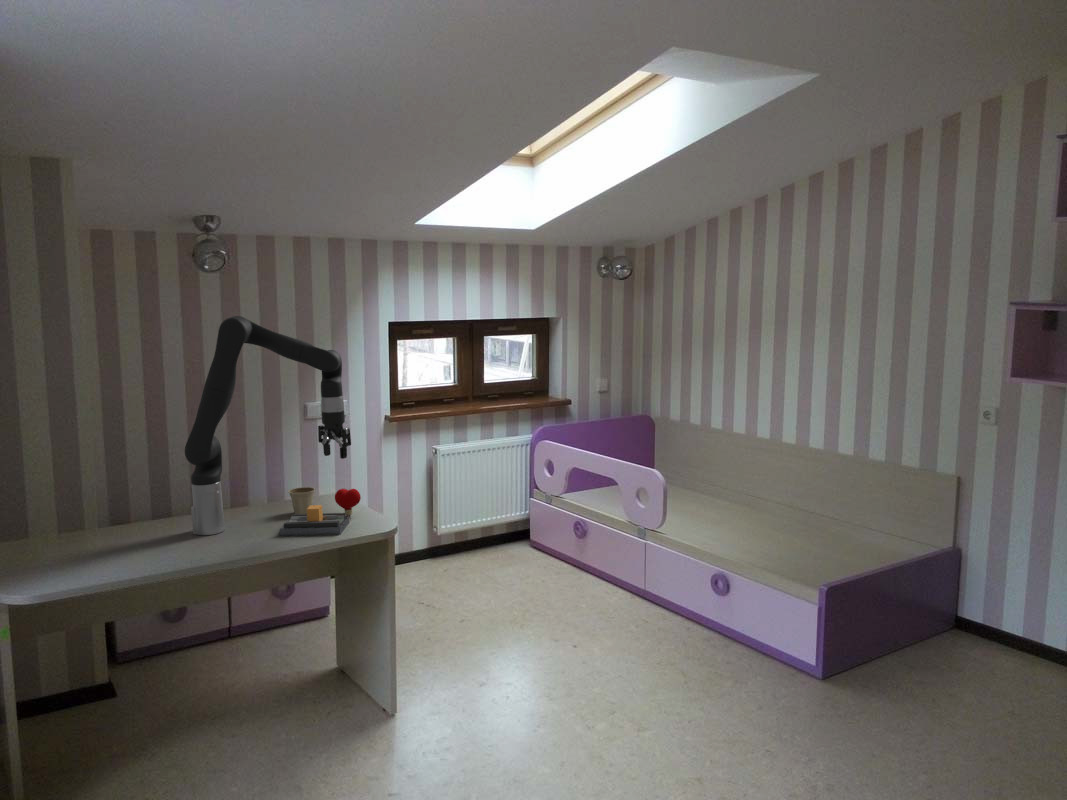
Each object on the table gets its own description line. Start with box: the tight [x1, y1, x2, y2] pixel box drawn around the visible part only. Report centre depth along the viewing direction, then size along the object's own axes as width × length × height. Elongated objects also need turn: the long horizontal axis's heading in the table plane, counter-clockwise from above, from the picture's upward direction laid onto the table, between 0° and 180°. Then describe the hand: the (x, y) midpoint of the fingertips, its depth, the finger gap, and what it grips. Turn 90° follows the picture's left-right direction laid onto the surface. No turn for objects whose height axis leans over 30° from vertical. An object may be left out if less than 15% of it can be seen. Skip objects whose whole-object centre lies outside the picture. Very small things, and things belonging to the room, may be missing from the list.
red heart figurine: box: [334, 488, 362, 517], centre depth 292 cm, size 9×7×10 cm
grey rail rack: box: [283, 512, 347, 528], centre depth 277 cm, size 18×12×1 cm, turn 90°
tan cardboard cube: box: [307, 504, 323, 521], centre depth 277 cm, size 4×5×5 cm
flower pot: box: [287, 486, 316, 514], centre depth 298 cm, size 9×9×9 cm
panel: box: [279, 515, 350, 537], centre depth 277 cm, size 20×14×4 cm
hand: (335, 456), depth 276 cm, fingers open, 8 cm apart
